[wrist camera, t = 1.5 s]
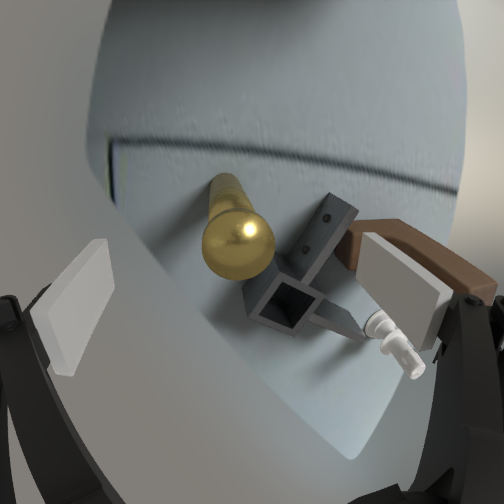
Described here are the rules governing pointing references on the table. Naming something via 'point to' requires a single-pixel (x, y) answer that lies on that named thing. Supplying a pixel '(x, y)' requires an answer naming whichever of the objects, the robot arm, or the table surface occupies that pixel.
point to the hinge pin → (235, 232)
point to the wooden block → (418, 256)
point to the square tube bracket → (304, 278)
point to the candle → (394, 343)
